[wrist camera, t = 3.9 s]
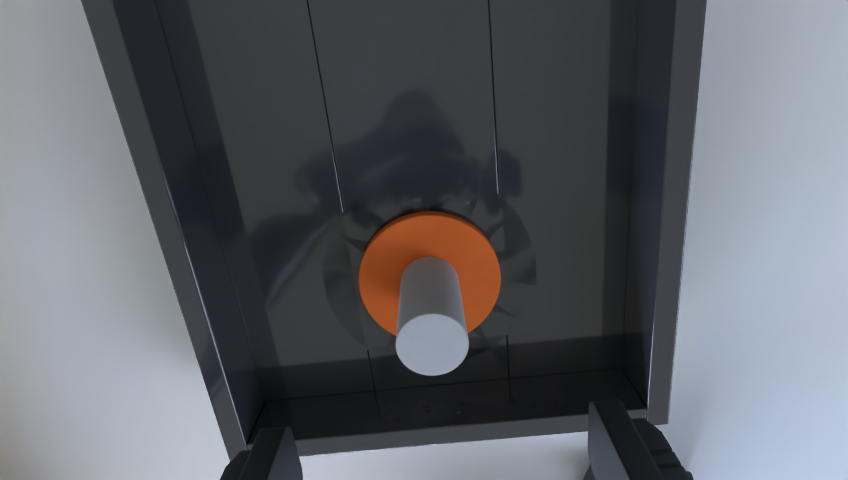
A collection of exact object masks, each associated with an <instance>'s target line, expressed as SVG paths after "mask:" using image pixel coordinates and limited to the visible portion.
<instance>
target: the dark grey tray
mask: <svg viewBox="0 0 848 480" xmlns="http://www.w3.org/2000/svg"><path fill="white" fill-rule="evenodd" d="M81 2H82V5H83V8H84V11H85V14H86V17H87V20H88V23H89V26H90V30H91V33H92V36H93V39H94V42H95V45H96V48H97V51H98V54H99V57H100V60H101V64H102V67H103V70H104V73H105V76H106V79H107V82H108V85H109V88H110V91H111V94H112V98H113V101H114V104H115V107H116V110H117V113H118V116H119V119H120V122H121V125H122V128H123V132H124V135H125V138H126V141H127V144H128V147H129V150H130V153H131V156H132V159H133V162H134V166H135V169H136V172H137V175H138V178H139V181H140V184H141V187H142V190H143V193H144V196H145V200H146V203H147V206H148V209H149V212H150V215H151V218H152V221H153V224H154V227H155V230H156V234H157V237H158V240H159V243H160V246H161V249H162V252H163V255H164V258H165V261H166V264H167V268H168V271H169V274H170V277H171V280H172V283H173V286H174V289H175V292H176V295H177V298H178V302H179V305H180V308H181V311H182V314H183V317H184V320H185V323H186V326H187V329H188V332H189V336H190V339H191V342H192V345H193V348H194V351H195V354H196V357H197V360H198V363H199V366H200V370H201V373H202V376H203V379H204V382H205V385H206V388H207V391H208V394H209V397H210V400H211V404H212V407H213V410H214V413H215V416H216V419H217V422H218V425H219V428H220V431H221V435H222V438H223V441H224V444H225V447H226V450H227V453H228V456H229V459H230V462H231V461H232V460H233V459H234V458H235V456H236V455H237V454H238V453H239V452H240V451H244V450H251V448H252V446H253V444H254V441H255V439H256V437H257V434H258V432H259V431H260V430H261V429H264V428H275V427H287V426H288V427H290V428H291V430H292V433H293V436H294V440H295V444H296V448H297V452H298V456H299V457H304V456H315V455H326V454H337V453H349V452H360V451H371V450H382V449H393V448H405V447H416V446H427V445H438V444H449V443H460V442H472V441H483V440H494V439H505V438H516V437H528V436H539V435H550V434H561V433H572V432H583V431H588V417H589V403H590V402H591V401H601V400H612V399H619V400H621V402H622V403H623V405H624V407H625V408H626V410H627V412H628V414H629V416H630V417H631V419H636V418H645V419H646V420H647V421H649V422H650V423H651V424H652V425H662V424H668V421H669V410H670V399H671V388H672V377H673V366H674V355H675V344H676V333H677V322H678V311H679V300H680V289H681V278H682V267H683V256H684V245H685V234H686V223H687V212H688V201H689V190H690V179H691V167H692V156H693V145H694V134H695V123H696V112H697V101H698V90H699V79H700V68H701V57H702V46H703V35H704V24H705V13H706V2H707V0H639V17H638V39H637V61H636V82H635V104H634V126H633V148H632V169H631V191H630V213H629V235H628V256H627V278H626V300H625V321H624V343H623V365H622V369H621V368H619V369H608V370H598V371H587V372H576V373H566V374H555V375H544V376H533V377H523V378H512V379H501V380H490V381H480V382H469V383H458V384H448V385H437V386H426V387H415V388H405V389H394V390H383V391H372V392H362V393H351V394H340V395H329V396H319V397H308V398H297V399H287V400H276V401H266V402H265V400H264V397H263V393H262V390H261V386H260V382H259V379H258V375H257V371H256V368H255V364H254V360H253V357H252V353H251V350H250V346H249V342H248V339H247V335H246V331H245V328H244V324H243V320H242V317H241V313H240V310H239V306H238V302H237V299H236V295H235V291H234V288H233V284H232V280H231V277H230V273H229V270H228V266H227V262H226V259H225V255H224V251H223V248H222V244H221V240H220V237H219V233H218V229H217V226H216V222H215V219H214V215H213V211H212V208H211V204H210V200H209V197H208V193H207V189H206V186H205V182H204V179H203V175H202V171H201V168H200V164H199V160H198V157H197V153H196V149H195V146H194V142H193V139H192V135H191V131H190V128H189V124H188V120H187V117H186V113H185V109H184V106H183V102H182V99H181V95H180V91H179V88H178V84H177V80H176V77H175V73H174V69H173V66H172V62H171V58H170V55H169V51H168V48H167V44H166V40H165V37H164V33H163V29H162V26H161V22H160V18H159V15H158V11H157V8H156V4H155V0H81Z"/></svg>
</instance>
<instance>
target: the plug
mask: <svg viewBox="0 0 848 480" xmlns="http://www.w3.org/2000/svg"><path fill="white" fill-rule="evenodd" d="M358 283H359V291H360V295H361V298H362V301H363V303H364V306H365V307H366V309H367V311H368V313H369V314H370V315H371V316H372V318H373V319H374V320H375V321H376V322H377V323H378V324H379V325H380V326H381V327H383V328H384V329H385V330H386V331H388V332H390V333H391V334H393V335H395V336H396V351H397V354H398V356H399V358H400V360H401V361H402V362H403V364H404V365H405V366H406V367H408V368H409V369H410V370H412V371H414V372H416V373H419V374H423V375H430V376H433V375H441V374H445V373H447V372H450V371H452V370H453V369H455V368H456V367H458V366H459V365H460V364H461V363H462V361H463V360H464V358H465V357H466V355H467V352H468V348H469V340H468V334H467V333H469V332H470V331H472V330H473V329H475V328H476V327H477V326H478V325H479V324H480V323H482V322H483V321H484V319H485V318H486V317H487V316H488V315H489V313H490V312H491V310H492V309H493V307H494V305H495V303H496V300H497V298H498V294H499V291H500V285H501V273H500V266H499V262H498V259H497V256H496V254H495V251H494V249H493V247H492V245H491V244H490V242H489V240H488V239H487V238H486V237H485V235H484V234H483V233H482V232H481V231H480V230H479V229H478V228H476V227H475V226H474V225H472V224H471V223H469V222H468V221H466V220H464V219H462V218H460V217H458V216H455V215H452V214H448V213H443V212H434V211H426V212H417V213H412V214H408V215H405V216H402V217H400V218H398V219H395V220H394V221H392V222H390V223H389V224H387V225H386V226H384V227H383V228H382V229H381V230H380V231H379V232H378V233H377V234H376V235H375V236H374V237H373V238H372V240H371V241H370V242H369V244H368V246H367V248H366V249H365V251H364V254H363V257H362V260H361V263H360V268H359V276H358Z"/></svg>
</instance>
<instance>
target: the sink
mask: <svg viewBox="0 0 848 480" xmlns="http://www.w3.org/2000/svg"><path fill="white" fill-rule="evenodd" d="M155 4H156V8H157V11H158V15H159V18H160V22H161V26H162V29H163V33H164V37H165V40H166V44H167V48H168V51H169V55H170V58H171V62H172V66H173V69H174V73H175V77H176V80H177V84H178V88H179V91H180V95H181V99H182V102H183V106H184V109H185V113H186V117H187V120H188V124H189V128H190V131H191V135H192V139H193V142H194V146H195V149H196V153H197V157H198V160H199V164H200V168H201V171H202V175H203V179H204V182H205V186H206V189H207V193H208V197H209V200H210V204H211V208H212V211H213V215H214V219H215V222H216V226H217V229H218V233H219V237H220V240H221V244H222V248H223V251H224V255H225V259H226V262H227V266H228V270H229V273H230V277H231V280H232V284H233V288H234V291H235V295H236V299H237V302H238V306H239V310H240V313H241V317H242V320H243V324H244V328H245V331H246V335H247V339H248V342H249V346H250V350H251V353H252V357H253V360H254V364H255V368H256V371H257V375H258V379H259V382H260V386H261V390H262V393H263V397H264V400H265V402H266V401H276V400H287V399H297V398H308V397H319V396H329V395H340V394H351V393H362V392H372V391H383V390H394V389H405V388H415V387H426V386H437V385H448V384H458V383H469V382H480V381H490V380H501V379H512V378H523V377H533V376H544V375H555V374H566V373H576V372H587V371H598V370H608V369H619V368H621V369H622V365H623V343H624V321H625V300H626V278H627V256H628V235H629V213H630V191H631V169H632V148H633V126H634V104H635V82H636V61H637V39H638V17H639V0H155ZM426 211H434V212H443V213H448V214H452V215H455V216H458V217H460V218H462V219H464V220H466V221H468V222H469V223H471V224H472V225H474V226H475V227H476V228H478V229H479V230H480V231H481V232H482V233H483V234H484V235H485V237H486V238H487V239H488V240H489V242H490V244H491V245H492V247H493V249H494V251H495V254H496V256H497V259H498V262H499V266H500V273H501V285H500V291H499V294H498V298H497V300H496V303H495V305H494V307H493V309H492V310H491V312H490V313H489V315H488V316H487V317H486V318H485V319H484V321H483V322H482V323H480V324H479V325H478V326H477V327H476V328H475V329H473V330H472V331H470V332H469V333H467V334H468V340H469V348H468V352H467V355H466V357H465V358H464V360H463V361H462V363H461V364H460V365H459V366H458V367H456V368H455V369H453V370H452V371H450V372H447V373H445V374H441V375H433V376H430V375H423V374H419V373H416V372H414V371H412V370H410V369H409V368H408V367H406V366H405V365H404V364H403V362H402V361H401V360H400V358H399V356H398V354H397V351H396V336H395V335H393V334H391V333H390V332H388V331H386V330H385V329H384V328H383V327H381V326H380V325H379V324H378V323H377V322H376V321H375V320H374V319H373V318H372V316H371V315H370V314H369V313H368V311H367V309H366V307H365V306H364V303H363V301H362V298H361V295H360V291H359V283H358V276H359V268H360V263H361V260H362V257H363V254H364V251H365V249H366V248H367V246H368V244H369V242H370V241H371V240H372V238H373V237H374V236H375V235H376V234H377V233H378V232H379V231H380V230H381V229H382V228H383V227H384V226H386V225H387V224H389V223H390V222H392V221H394V220H395V219H398V218H400V217H402V216H405V215H408V214H412V213H417V212H426Z"/></svg>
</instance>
